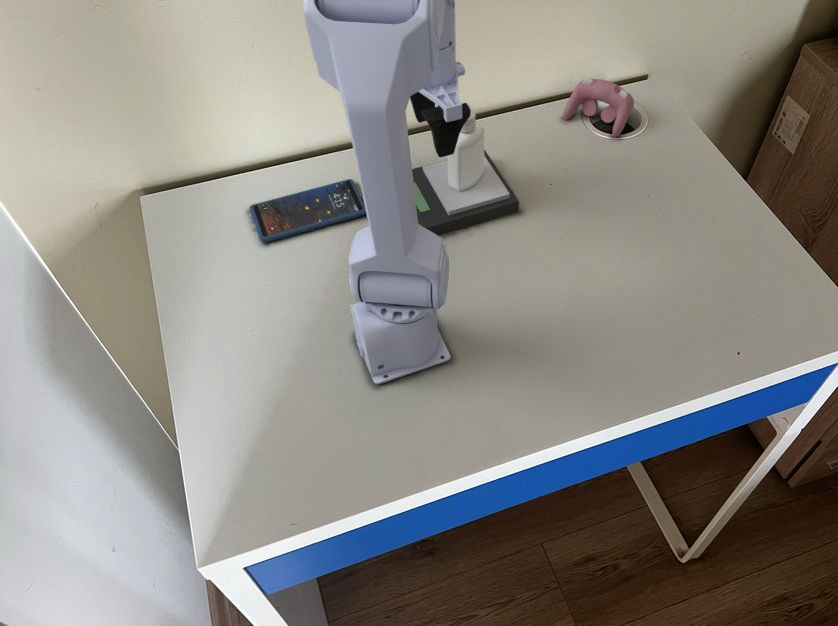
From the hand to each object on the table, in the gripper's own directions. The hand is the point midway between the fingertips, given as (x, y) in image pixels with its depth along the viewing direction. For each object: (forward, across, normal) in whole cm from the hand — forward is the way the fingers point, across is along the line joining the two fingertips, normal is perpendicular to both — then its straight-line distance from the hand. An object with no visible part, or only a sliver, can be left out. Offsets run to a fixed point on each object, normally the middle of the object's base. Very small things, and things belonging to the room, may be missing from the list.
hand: (435, 136), depth 91 cm
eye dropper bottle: (+8, -1, -4) cm, 9 cm away
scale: (+10, -1, -2) cm, 11 cm away
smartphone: (+10, +4, +18) cm, 21 cm away
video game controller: (+10, +7, -29) cm, 32 cm away
